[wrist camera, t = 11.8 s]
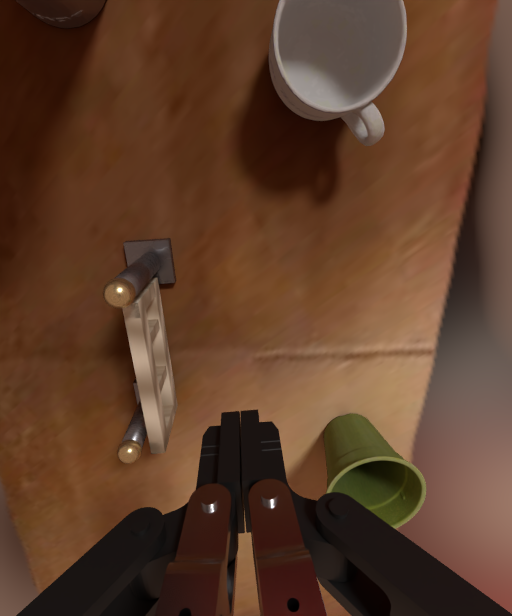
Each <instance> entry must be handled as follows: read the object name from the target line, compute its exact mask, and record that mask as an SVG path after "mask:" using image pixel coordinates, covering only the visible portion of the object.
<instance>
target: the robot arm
mask: <svg viewBox="0 0 512 616" xmlns="http://www.w3.org/2000/svg"><path fill="white" fill-rule="evenodd" d="M15 1H16V2H18V3H19V4H20V5H21V6H23V7H24V8H25V9H26V10H28V11H29V12H30V13H31V14H33V15H34V16H35V17H37V18H38V19H40V20H42V21H43V22H45V23H47V24H49V25H52V26H56V27H59V28H74V27H80V26H82V25H84V24H86V23H88V22H90V21H91V20H92V19H93V18H94V17H95V16H97V14H98V13H99V12H100V10H101V9H102V7H103V6H104V3H105V1H106V0H15ZM244 510H245V521H246V532H247V533H248V532H251V535H252V546H253V558H254V567H255V575H256V584H257V592H258V600H259V609H260V616H327V613H326V610H325V606H324V602H323V599H322V595H321V591H320V588H319V584H318V580H319V582H320V584H321V585H322V586H323V587H324V588H325V589H326V590H327V591H328V592H329V593H330V594H331V595H332V596H333V597H334V598H335V599H336V600H337V601H338V602H339V603H340V604H341V605H342V606H343V607H344V608H345V609H346V610H347V611H348V612H349V613H350V614H351V615H352V616H512V614H511V613H510V612H508V611H507V610H505V609H504V608H503V607H501V606H500V605H499V604H497V603H496V602H495V601H493V600H492V599H490V598H489V597H488V596H486V595H485V594H484V593H482V592H481V591H479V590H478V589H477V588H475V587H474V586H473V585H471V584H470V583H468V582H467V581H466V580H464V579H463V578H461V577H460V576H459V575H457V574H456V573H455V572H453V571H452V570H451V569H449V568H448V567H447V566H445V565H444V564H442V563H441V562H440V561H438V560H437V559H436V558H434V557H433V556H431V555H430V554H429V553H427V552H426V551H424V550H423V549H422V548H420V547H419V546H418V545H416V544H415V543H414V542H412V541H411V540H409V539H408V538H407V537H405V536H404V535H403V534H401V533H400V532H398V531H397V530H396V529H394V528H393V527H392V526H390V525H389V524H387V523H386V522H385V521H383V520H382V519H381V518H379V517H378V516H377V515H375V514H374V513H372V512H371V511H370V510H368V509H367V508H366V507H364V506H363V505H361V504H360V503H359V502H357V501H356V500H355V499H353V498H352V497H350V496H349V495H346V494H344V493H340V492H330V493H327V494H325V495H323V496H322V497H321V498H320V499H319V500H318V501H316V500H311V499H307V498H303V497H301V496H299V495H297V494H296V493H295V492H293V491H292V490H291V488H290V487H289V485H288V483H287V479H286V473H285V467H284V461H283V455H282V450H281V443H280V437H279V431H278V429H277V427H276V426H275V425H274V424H273V422H272V421H271V422H259V415H258V410H248V411H241V424H240V413H239V411H236V412H223V413H222V415H221V426H210V427H209V428H208V429H207V431H206V432H205V434H204V435H203V440H202V448H201V457H200V463H199V471H198V478H197V486H196V491H194V492H193V494H192V495H191V497H190V499H189V502H188V503H187V504H185V505H184V506H183V507H181V508H179V509H177V510H175V511H172V512H170V513H167V514H164V515H162V513H161V512H160V511H159V510H157V509H155V508H152V507H145V508H140V509H137V510H135V511H133V512H132V513H130V514H129V515H128V516H126V517H125V518H124V519H123V520H122V521H121V522H120V523H119V524H118V525H116V526H115V527H114V528H113V529H112V530H111V531H110V532H109V533H108V534H106V535H105V536H104V537H103V538H102V539H101V540H100V541H99V542H98V543H96V544H95V545H94V546H93V547H92V548H91V549H90V550H89V551H88V552H86V553H85V554H84V555H83V556H82V557H81V558H80V559H79V560H78V561H76V562H75V563H74V564H73V565H72V566H71V567H70V568H69V569H68V570H66V571H65V572H64V573H63V574H62V575H61V576H60V577H59V578H58V579H56V580H55V581H54V582H53V583H52V584H51V585H50V586H49V587H48V588H46V589H45V590H44V591H43V592H42V593H41V594H40V595H39V596H38V597H37V598H35V599H34V600H33V601H32V602H31V603H30V604H29V605H28V606H26V608H24V609H23V610H22V611H21V612H20V613H19V614H18V615H17V616H233V615H234V601H235V587H236V572H237V551H238V533H245V527H244ZM317 578H318V580H317Z"/></svg>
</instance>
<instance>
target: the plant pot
mask: <svg viewBox="0 0 512 616" xmlns="http://www.w3.org/2000/svg"><path fill="white" fill-rule="evenodd" d="M324 445H325V454H326V465H327V475H328V479H327V491H326V494H327V493H330V492H340V493H344V494H346V495H349V496H350V497H352V498H353V499H355V500H356V501H357V502H359V503H360V504H361V505H363V506H364V507H366V508H367V509H368V510H370V511H371V512H372V513H374V514H375V515H377V516H378V517H379V518H381V519H382V520H383V521H385V522H386V523H387V524H389V525H390V526H392V527H393V528H394V529H395V528H398V527H400V526H401V525H403V524H405V523H406V522H408V520H410V519H411V518H412V517H413V516H414V515H415V514H416V513H417V512H418V511H419V509H420V508H421V506H422V504H423V502H424V499H425V496H426V483H425V480H424V478H423V475H422V474H421V473H420V471H419V470H418V469H417V468H416V467H415V466H414V465H413V464H411V463H409V462H408V461H406V460H404V459H403V458H402V457H401V456H400V455H399V454H398V453H396V452H395V451H394V450H393V448H392V447H391V446H390V445H389V444H388V443H387V441H386V440H385V439H384V438H383V437H382V436H381V434H380V433H379V432H378V431H377V430H376V428H375V427H374V426H373V425H372V424H371V423H370V422H369V420H368V419H366V418H365V417H363V416H361V415H358V414H348V415H345V416H339V417H337V418H335V419H334V420H332V421H331V422H330V423H329V424H328V426H327V427H326V429H325V432H324Z"/></svg>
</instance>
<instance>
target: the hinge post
mask: <svg viewBox="0 0 512 616" xmlns="http://www.w3.org/2000/svg"><path fill="white" fill-rule="evenodd" d="M124 249H125V254H126V259H127V265H128V267H127V268H126V269H125V270H124V271H122V272H121V273H120V274H119V275H118V276H116V277H115V278H114V279H112V280H110V281H109V282H107V283H106V285H105V286H104V288H103V298H104V300H105V302H106V303H107V304H108V305H109V306H111V307H113V308H116V309H122V308H126V307H128V306H130V305H131V304H132V303H133V301H134V299H135V297H136V296H137V295H138V294H139V293H140V291H141V290H142V289H143V288H144V287H145V285H146V284H147V283H148V282H149V281H150V279H151V278H158V284H165V283H175V282H176V276H175V269H174V262H173V255H172V248H171V240H170V238H168V239H152V240H136V241H125V242H124Z"/></svg>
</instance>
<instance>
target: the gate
mask: <svg viewBox="0 0 512 616" xmlns="http://www.w3.org/2000/svg"><path fill="white" fill-rule="evenodd" d="M122 309H123V314H124V319H125V324H126V329H127V334H128V339H129V344H130V349H131V354H132V359H133V364H134V369H135V374H136V379H137V384H138V389H139V394H140V399H141V404H142V409H143V414H144V419H145V424H146V429H147V434H148V439H149V444H150V449H151V454H157V453H165V452H166V448H167V444H168V440H169V436H170V433H171V429H172V425H173V421H174V417H175V413H176V409H177V399H176V392H175V386H174V380H173V373H172V367H171V360H170V354H169V348H168V341H167V335H166V329H165V322H164V316H163V309H162V303H161V297H160V290H159V284H158V278H151V279H150V281H149V282H148V283H147V284H146V285H145V287H144V288H143V289H142V290H141V291H140V293H139V294H138V295H137V296H136V297H135V299H134V301H133V303H132V304H131V305H130V306H128V307H126V308H122Z"/></svg>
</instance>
